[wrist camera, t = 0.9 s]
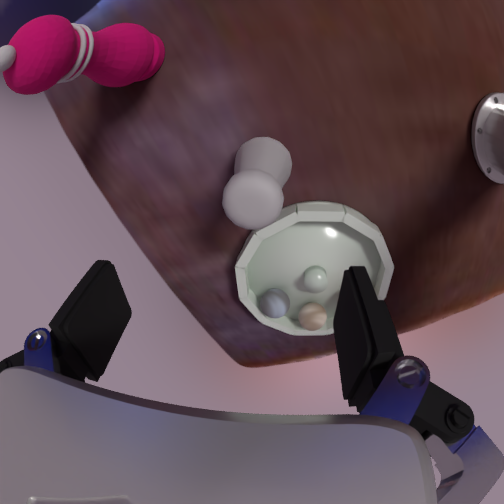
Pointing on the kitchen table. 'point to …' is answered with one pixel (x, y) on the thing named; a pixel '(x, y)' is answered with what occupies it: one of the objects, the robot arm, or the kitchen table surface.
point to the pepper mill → (78, 54)
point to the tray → (310, 260)
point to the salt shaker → (257, 183)
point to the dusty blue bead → (275, 303)
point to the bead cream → (312, 316)
